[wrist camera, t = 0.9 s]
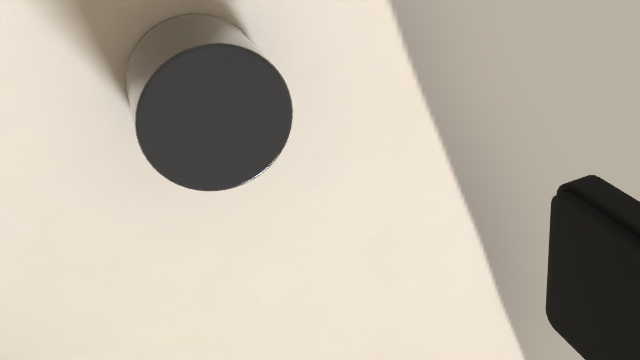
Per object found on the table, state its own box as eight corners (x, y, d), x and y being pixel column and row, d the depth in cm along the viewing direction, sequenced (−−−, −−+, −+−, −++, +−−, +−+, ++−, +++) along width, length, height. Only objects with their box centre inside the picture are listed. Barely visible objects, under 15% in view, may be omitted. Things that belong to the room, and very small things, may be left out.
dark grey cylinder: (106, 32, 18) (112, 68, 15) (246, -2, 19) (278, 25, 16) (149, 158, 21) (162, 211, 18) (273, 123, 22) (304, 167, 19)
